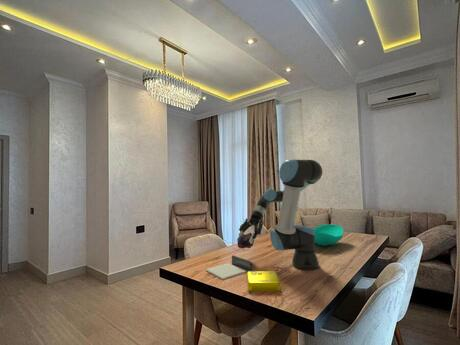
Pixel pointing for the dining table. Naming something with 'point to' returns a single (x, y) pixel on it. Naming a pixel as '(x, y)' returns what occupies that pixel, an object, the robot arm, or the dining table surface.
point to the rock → (245, 241)
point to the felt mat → (225, 271)
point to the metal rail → (242, 263)
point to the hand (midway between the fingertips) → (244, 241)
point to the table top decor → (328, 234)
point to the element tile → (263, 281)
